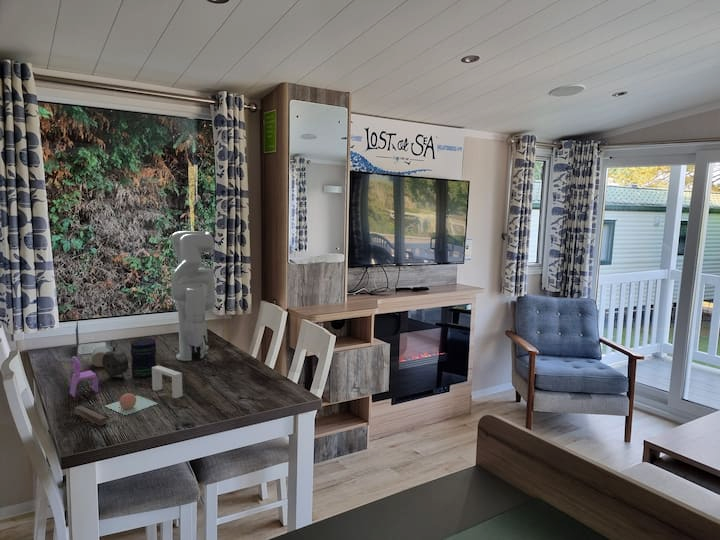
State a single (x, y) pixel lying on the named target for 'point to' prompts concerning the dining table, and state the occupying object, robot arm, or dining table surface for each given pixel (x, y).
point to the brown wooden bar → (90, 415)
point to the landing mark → (140, 404)
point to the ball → (127, 401)
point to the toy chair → (81, 377)
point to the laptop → (86, 345)
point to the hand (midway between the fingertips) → (196, 360)
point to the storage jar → (143, 358)
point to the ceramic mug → (98, 355)
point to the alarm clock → (115, 362)
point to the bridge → (175, 375)
